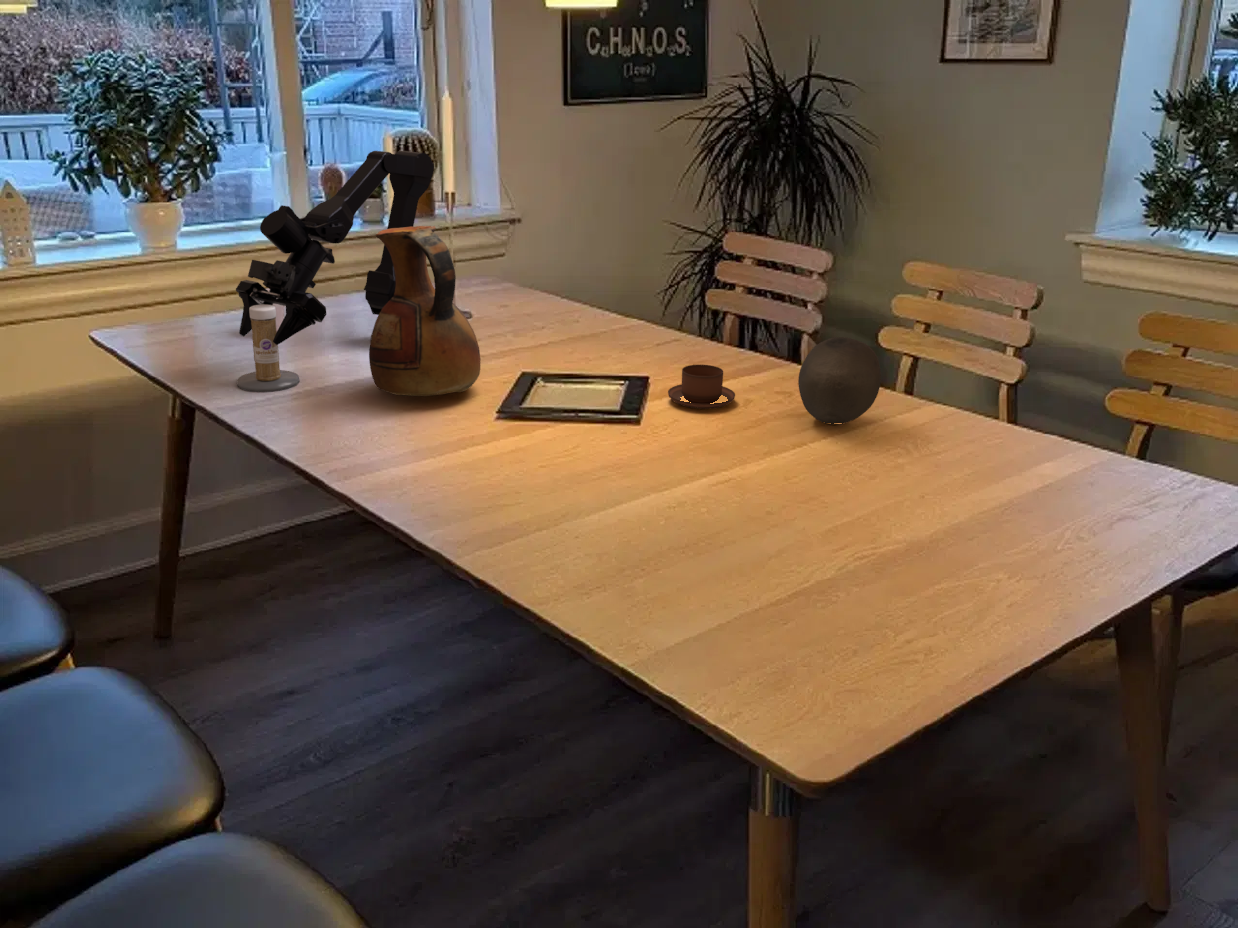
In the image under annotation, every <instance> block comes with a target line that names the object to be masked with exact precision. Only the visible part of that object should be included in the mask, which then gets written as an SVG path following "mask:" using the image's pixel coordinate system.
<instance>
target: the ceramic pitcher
mask: <svg viewBox="0 0 1238 928" xmlns="http://www.w3.org/2000/svg"><path fill="white" fill-rule="evenodd" d="M436 230H437V228H436V226H435V225H434V226H432V225H426V226H425V225H418V226H413V227H403V228H392V229H382V230H380V231H378V233H376V234H375V238H377V239H379V240H380V241H381V242H382V243H383V245H384V244H385V246H386V247H387V249H388V251H389V253H390V255H391V258H392V262H393V266H394V270H395V276H396V287H395V293H394V296H393V297H392V298H391V299H390V300H389V301H388V302H387V303H386V305H385V306H384V307H383V308H382V310H381V312H380V313H379V315H377V317H376V319H375V322H374V326H373V329H372V331H371V334H370V335H371V336H370V340H369V349H368V360H369V361H368V362H369V368H370V373H371V377H372V379H373V383H374V385H375V386H376V388H377V389H379V390H381V391H384V392H386V393H390V394H393V395H398V396H411V397H414V396H417V397H428V396H438V395H446V394H451V393H455V392H456V393H461V392H465V391H467V390H468V389H470V388H471V387H472V386H473V385H474V384H475V383H476V381H477V380H478V378H479V376H480V374H481V352H480V346H479V343H478V340H477V336H476V333H475V331H474V328H473V327H472V326H471V323H470V322H469V320H468V318H467V317H466V315H465V314H464V312H463V311H462V310H461V309H460V308H459V306H457V305H456V304H455V303H454V297H455V290H456V280H457V278H456V276H457V275H456V268H455V266H454V262H453V259H452V256H451V253H450V249H449V248H448V246H447V244H446V242H444V240H443V239H442V238H441V237H440V236H439V234H438V233H436V232H435V231H436ZM427 260H428V262H429V265H430V268H431V271H432V275H433V280H434V281H433V282H434V285H433V282H432V280H431V277H430V274H429V270H428V264H427V263H428V262H427Z"/></svg>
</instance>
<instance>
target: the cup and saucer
mask: <svg viewBox="0 0 1238 928" xmlns="http://www.w3.org/2000/svg"><path fill="white" fill-rule="evenodd" d="M723 381H724V369H722V368H720V367H719V366H715V365H710V364H691V365H686V366H684V367H682V368H681V384H677V385H674V386H672V387H670V388H669V389H668V390H667V391H668V392H667V394H668V397H669V398H670V399H671V401H672V402H674V403H676V404H678V405H679V406H683V407H685V408H691V409H698V410H699V409H701V410H706V409H707V410H708V409H710V408H711V409H718V408H721V407H722V408H723V407H725V406H727V405H729V404H731V403H732V402H733V401H734V400H735V399H736V393H735V391H733V390H732V389H731V388H728V387H726V386H723V383H724V382H723ZM721 395H723V396H725V397H727V399H728V401H726V402H722V403H714V404H710V403H713V402H715V401H717V400H718V399H719V397H720V396H721ZM682 396H684V398H685V399H686V400H688V401H689V402H684V401H680V400H681V398H680V397H682ZM690 402H691V403H690Z"/></svg>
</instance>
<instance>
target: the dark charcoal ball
mask: <svg viewBox="0 0 1238 928" xmlns="http://www.w3.org/2000/svg"><path fill="white" fill-rule="evenodd" d="M801 364H802V365H801V367H800V370H799V373H798V379H797V380H798V382H797V383H798V390H799V395H800V398H801V402H802V405H803V407H804V409H805V410H806V411H807V412H808V413H809V415H811V417H813V418H814V419H815V420H817V421H819V422H820V421H821V423H823V422H825V423H824V424H826V423H831V424H830V425H832V424H834V423H842V424H841V425H844V424H843V423H845V424H847V423H850V422H852V421H854V420H856V419H857V418H860V417H861V416H862V415H864V414H865V413H867V411H868V410H869V409H870V408H871V407H872V406H873V404H874V402H875V401H876V399H877V397H878V394H879V391H880V388H881V384H882V372H881V365H880V362H879V357H878V356H877V354H876V352H875V351H874V350H873V349H872V348H871V347H870V346H869V345H868V344H867V343H865V342H862V341H860V340H857V339H855V338H852V337H844V336H838V337H837V336H836V337H832V338H831V337H830V338H827V339H825V340H823V341H821V342H819V343H817V344H816V345H814V347H812V348H811V349H810V351H809V352H808V354H806V356H805V359H804V361H803V363H801Z"/></svg>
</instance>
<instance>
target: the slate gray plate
mask: <svg viewBox="0 0 1238 928" xmlns="http://www.w3.org/2000/svg"><path fill="white" fill-rule="evenodd" d="M280 374H281V377H280V378H279V379H277V380H273V381H261V380H257V379H256V371H253V372H249V373H246V374H245V373H244V374H243V375H242V374H241V375H240V376H239V377H238V378H237V379H236V384H237V387H238V389H240V390H242V391H247V392H254V393H269V392H277V391H279V392H280V391H285V390H289V389H291V388H293V387H296V386H297V385H298V384H299V383H300V375H299V374H298V373H296V372H294V371H291V370H283V369H280Z"/></svg>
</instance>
